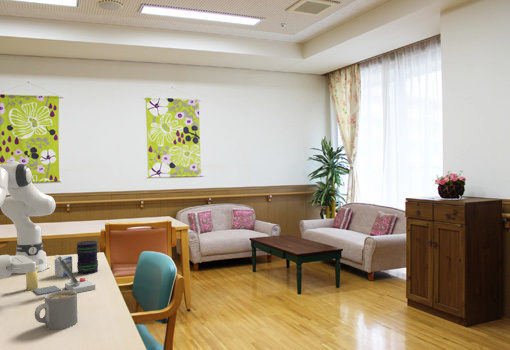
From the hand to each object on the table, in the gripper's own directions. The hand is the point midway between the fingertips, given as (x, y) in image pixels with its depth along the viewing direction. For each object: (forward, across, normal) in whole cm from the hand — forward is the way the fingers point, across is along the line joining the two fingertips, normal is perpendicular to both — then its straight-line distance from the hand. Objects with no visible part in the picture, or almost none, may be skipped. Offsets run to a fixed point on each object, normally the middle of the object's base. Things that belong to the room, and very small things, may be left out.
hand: (42, 261), depth 180 cm
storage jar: (+28, +30, +14) cm, 43 cm away
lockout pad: (+3, +8, +14) cm, 17 cm away
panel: (+15, +2, +14) cm, 21 cm away
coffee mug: (-6, -38, +15) cm, 42 cm away
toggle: (+13, 0, +12) cm, 18 cm away
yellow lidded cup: (-1, +16, +14) cm, 21 cm away
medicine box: (+17, +32, +14) cm, 39 cm away
